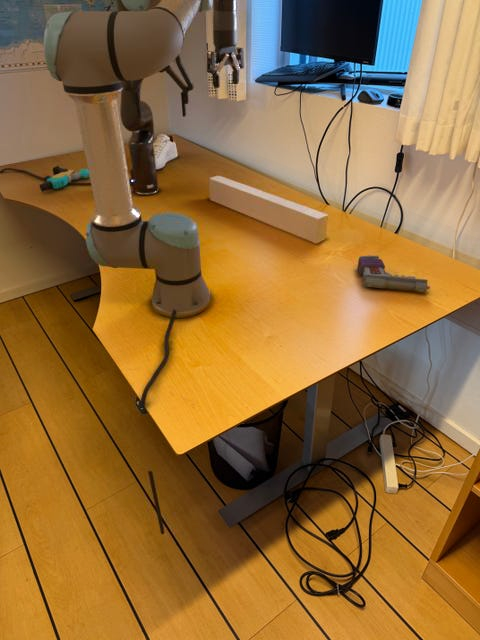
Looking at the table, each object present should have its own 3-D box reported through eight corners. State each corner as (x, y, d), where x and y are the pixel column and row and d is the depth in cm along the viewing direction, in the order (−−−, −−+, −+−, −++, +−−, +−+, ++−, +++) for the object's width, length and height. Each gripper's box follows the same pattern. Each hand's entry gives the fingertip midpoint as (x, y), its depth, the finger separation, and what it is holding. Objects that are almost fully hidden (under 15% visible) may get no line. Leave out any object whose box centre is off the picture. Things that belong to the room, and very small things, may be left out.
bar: (325, 239, 155) (328, 214, 150) (316, 243, 152) (318, 219, 147) (219, 196, 185) (218, 175, 180) (209, 199, 183) (208, 178, 178)
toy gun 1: (18, 179, 190) (45, 185, 184) (65, 161, 208) (91, 166, 203) (21, 190, 192) (48, 196, 187) (67, 171, 211) (93, 177, 205)
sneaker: (133, 173, 208) (129, 144, 201) (161, 153, 230) (158, 127, 223) (155, 175, 205) (151, 146, 198) (180, 155, 227) (178, 129, 220)
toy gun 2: (422, 269, 137) (428, 298, 126) (357, 263, 141) (356, 291, 129) (425, 258, 135) (432, 285, 123) (358, 252, 138) (358, 278, 126)
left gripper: (233, 25, 152) (233, 81, 162) (199, 28, 144) (202, 87, 154) (250, 27, 148) (249, 84, 157) (216, 30, 140) (218, 90, 149)
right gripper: (199, 33, 135) (204, 112, 148) (113, 34, 136) (124, 113, 148) (197, 35, 129) (201, 118, 142) (106, 36, 130) (118, 118, 142)
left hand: (226, 85), depth 156 cm, fingers open, 8 cm apart
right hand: (162, 115), depth 145 cm, fingers open, 13 cm apart
